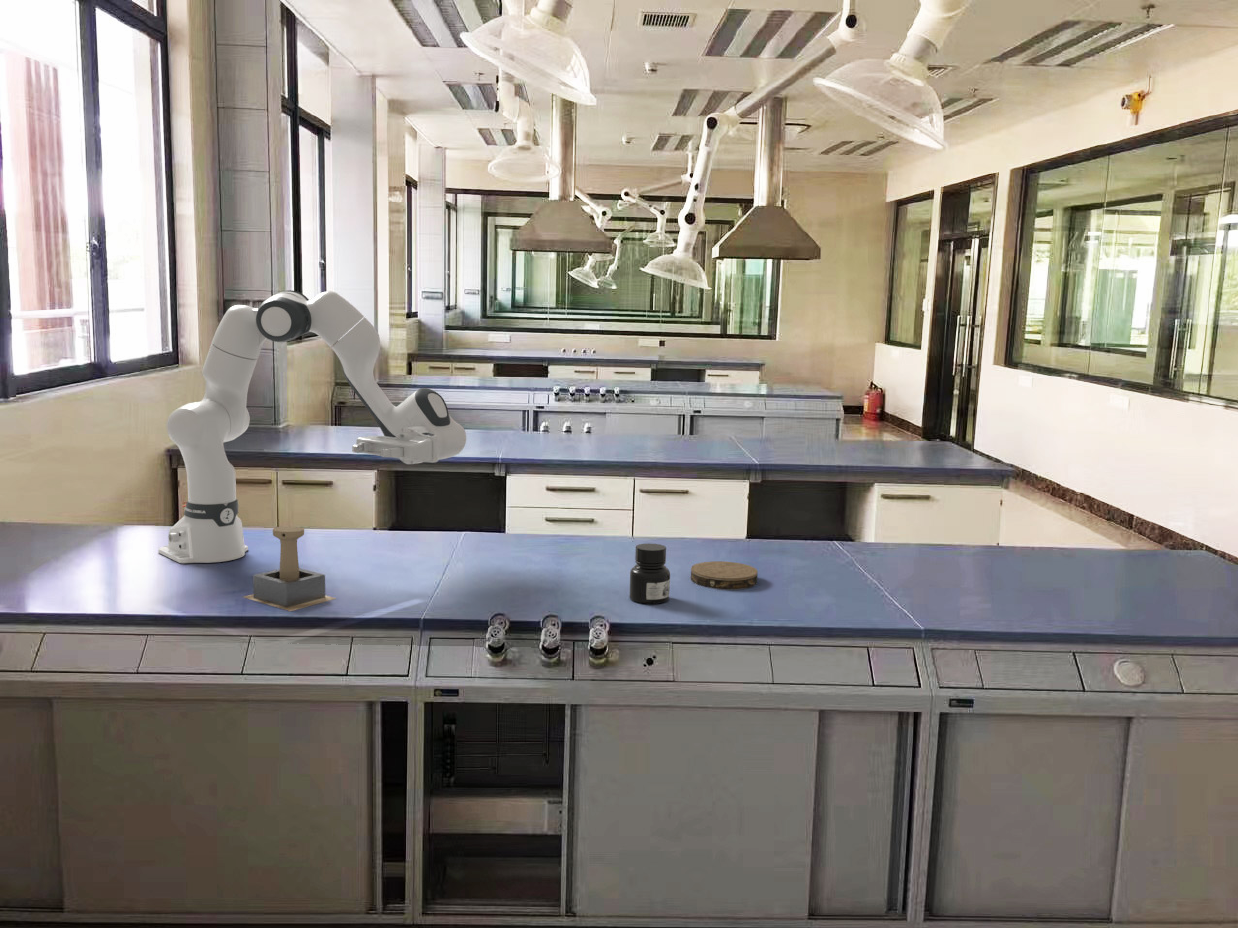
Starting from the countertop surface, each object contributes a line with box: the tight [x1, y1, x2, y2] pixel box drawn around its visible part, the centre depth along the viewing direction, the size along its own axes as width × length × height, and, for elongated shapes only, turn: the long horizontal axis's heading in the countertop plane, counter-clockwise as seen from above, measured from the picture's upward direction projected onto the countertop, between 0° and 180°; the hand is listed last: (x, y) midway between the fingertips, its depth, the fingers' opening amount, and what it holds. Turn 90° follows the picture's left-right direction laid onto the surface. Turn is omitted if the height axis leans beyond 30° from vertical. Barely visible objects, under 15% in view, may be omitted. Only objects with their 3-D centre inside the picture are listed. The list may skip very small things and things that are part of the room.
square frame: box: [252, 567, 326, 608], centre depth 224 cm, size 11×10×5 cm
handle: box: [272, 526, 305, 582], centre depth 223 cm, size 5×6×15 cm
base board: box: [243, 593, 338, 612], centre depth 224 cm, size 16×12×1 cm
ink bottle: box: [629, 542, 671, 605], centre depth 233 cm, size 10×9×12 cm
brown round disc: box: [690, 560, 759, 591], centre depth 251 cm, size 16×16×3 cm
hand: (368, 451), depth 240 cm, fingers open, 8 cm apart
